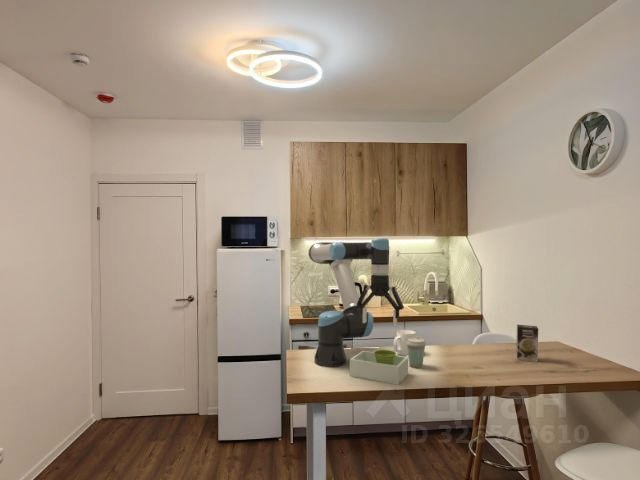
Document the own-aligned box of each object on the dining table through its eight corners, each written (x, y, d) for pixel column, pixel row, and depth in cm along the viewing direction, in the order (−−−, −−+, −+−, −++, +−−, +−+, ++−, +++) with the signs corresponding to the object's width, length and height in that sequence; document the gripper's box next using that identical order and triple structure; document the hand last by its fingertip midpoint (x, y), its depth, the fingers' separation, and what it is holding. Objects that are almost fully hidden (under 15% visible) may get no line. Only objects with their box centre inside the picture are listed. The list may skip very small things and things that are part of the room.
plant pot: (378, 377, 165) (378, 356, 165) (370, 370, 174) (370, 350, 174) (399, 376, 167) (399, 355, 167) (390, 368, 176) (391, 349, 176)
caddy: (349, 375, 169) (349, 359, 169) (362, 365, 183) (362, 350, 183) (398, 384, 160) (398, 366, 160) (408, 373, 173) (408, 357, 173)
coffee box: (516, 360, 193) (517, 326, 193) (515, 356, 199) (516, 324, 199) (538, 362, 190) (538, 328, 190) (536, 358, 196) (536, 325, 196)
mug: (403, 358, 195) (403, 336, 195) (387, 353, 203) (387, 332, 203) (421, 353, 203) (421, 332, 203) (405, 349, 211) (405, 328, 211)
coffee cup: (426, 369, 178) (426, 342, 178) (406, 368, 180) (406, 341, 180) (425, 363, 186) (425, 338, 186) (406, 362, 188) (406, 337, 188)
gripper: (349, 273, 174) (349, 322, 174) (406, 276, 162) (406, 329, 162) (356, 272, 180) (355, 319, 180) (411, 275, 169) (410, 325, 169)
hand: (379, 324), depth 171 cm, fingers open, 13 cm apart
